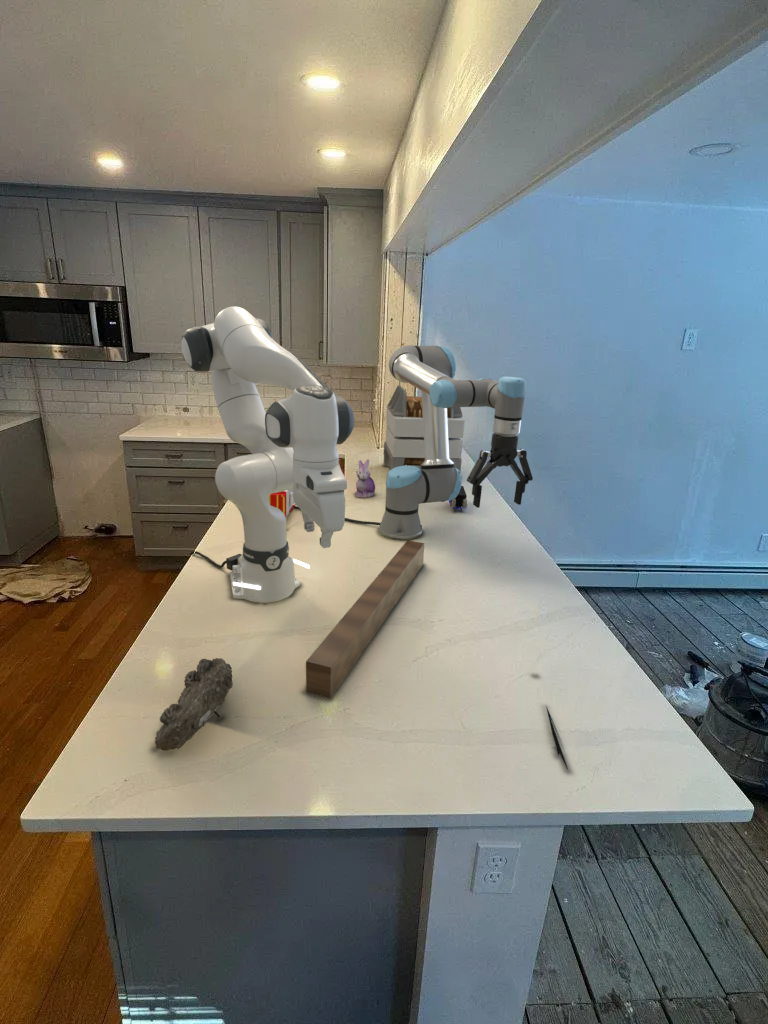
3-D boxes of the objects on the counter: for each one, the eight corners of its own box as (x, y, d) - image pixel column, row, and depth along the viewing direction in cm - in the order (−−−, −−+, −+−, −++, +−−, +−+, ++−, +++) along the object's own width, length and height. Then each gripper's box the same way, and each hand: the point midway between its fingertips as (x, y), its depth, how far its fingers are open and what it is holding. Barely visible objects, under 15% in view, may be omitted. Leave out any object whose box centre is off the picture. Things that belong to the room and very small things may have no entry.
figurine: (360, 499, 233) (361, 464, 228) (349, 492, 242) (350, 458, 237) (380, 497, 237) (381, 462, 232) (369, 490, 246) (370, 456, 241)
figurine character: (467, 516, 223) (461, 500, 237) (469, 499, 220) (463, 483, 233) (450, 516, 223) (446, 499, 236) (452, 498, 220) (447, 483, 233)
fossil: (182, 659, 118) (233, 627, 113) (214, 689, 120) (265, 659, 115) (130, 744, 98) (189, 710, 93) (170, 778, 101) (229, 746, 96)
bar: (406, 561, 178) (407, 540, 176) (422, 565, 176) (424, 543, 174) (306, 691, 116) (305, 661, 114) (330, 698, 115) (330, 667, 112)
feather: (536, 679, 125) (541, 673, 125) (567, 774, 99) (575, 766, 98) (529, 675, 125) (535, 669, 124) (559, 769, 98) (567, 762, 98)
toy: (299, 479, 223) (289, 492, 194) (299, 512, 226) (289, 530, 197) (268, 478, 223) (253, 491, 193) (268, 512, 225) (254, 529, 196)
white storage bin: (382, 463, 289) (386, 382, 275) (445, 464, 293) (451, 384, 279) (390, 482, 257) (394, 392, 243) (460, 483, 261) (468, 394, 247)
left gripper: (284, 461, 117) (286, 524, 122) (318, 486, 100) (319, 559, 104) (313, 458, 120) (314, 520, 124) (351, 483, 103) (350, 553, 107)
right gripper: (471, 437, 152) (464, 511, 160) (551, 435, 160) (540, 506, 167) (459, 431, 159) (453, 502, 166) (537, 429, 167) (527, 497, 174)
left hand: (317, 538), depth 114 cm, fingers open, 8 cm apart
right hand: (497, 504), depth 167 cm, fingers open, 13 cm apart
